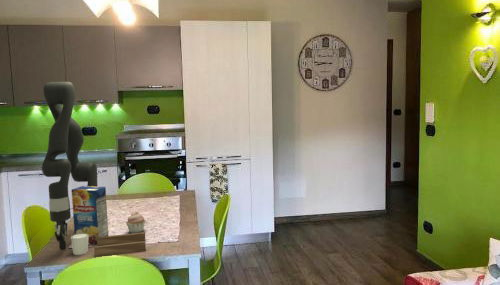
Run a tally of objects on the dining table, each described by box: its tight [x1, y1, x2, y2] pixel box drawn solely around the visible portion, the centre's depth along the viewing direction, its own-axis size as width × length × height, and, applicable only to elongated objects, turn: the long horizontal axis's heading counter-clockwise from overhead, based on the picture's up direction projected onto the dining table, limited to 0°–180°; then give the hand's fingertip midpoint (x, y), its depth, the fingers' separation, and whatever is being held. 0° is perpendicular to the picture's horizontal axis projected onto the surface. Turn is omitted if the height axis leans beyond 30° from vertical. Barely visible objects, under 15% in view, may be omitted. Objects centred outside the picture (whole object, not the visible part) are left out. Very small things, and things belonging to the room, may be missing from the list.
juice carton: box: [71, 185, 109, 246], centre depth 177 cm, size 12×8×24 cm, turn 76°
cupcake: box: [125, 210, 147, 234], centre depth 189 cm, size 9×9×10 cm
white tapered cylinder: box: [70, 233, 89, 256], centre depth 164 cm, size 7×7×7 cm
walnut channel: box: [93, 231, 147, 257], centre depth 169 cm, size 13×20×4 cm, turn 105°
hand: (62, 249), depth 163 cm, fingers closed
